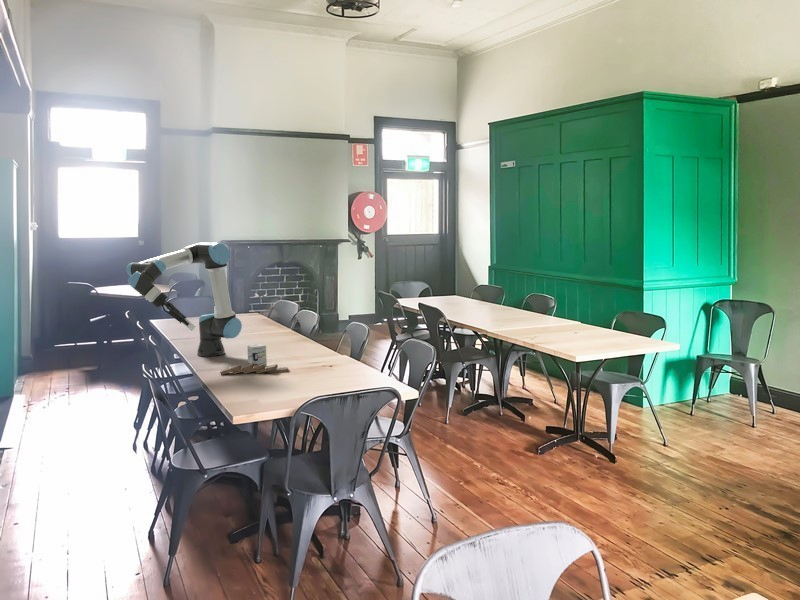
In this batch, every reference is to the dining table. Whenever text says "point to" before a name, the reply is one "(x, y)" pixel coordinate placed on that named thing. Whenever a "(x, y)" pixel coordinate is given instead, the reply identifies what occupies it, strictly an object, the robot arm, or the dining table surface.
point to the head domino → (230, 369)
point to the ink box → (257, 354)
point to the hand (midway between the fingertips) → (193, 328)
